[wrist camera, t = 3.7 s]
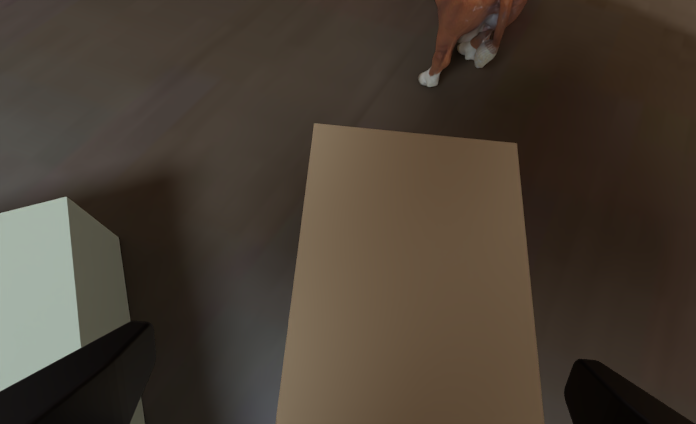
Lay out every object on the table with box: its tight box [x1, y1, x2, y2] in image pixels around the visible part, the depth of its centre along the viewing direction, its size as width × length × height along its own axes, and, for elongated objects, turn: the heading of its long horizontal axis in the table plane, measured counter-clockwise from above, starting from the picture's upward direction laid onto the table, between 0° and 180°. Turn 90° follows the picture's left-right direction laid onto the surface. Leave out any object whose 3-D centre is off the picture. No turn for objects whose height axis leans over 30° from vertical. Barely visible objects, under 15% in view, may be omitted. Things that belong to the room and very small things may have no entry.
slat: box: [276, 123, 544, 424], centre depth 10 cm, size 2×4×13 cm, turn 176°
